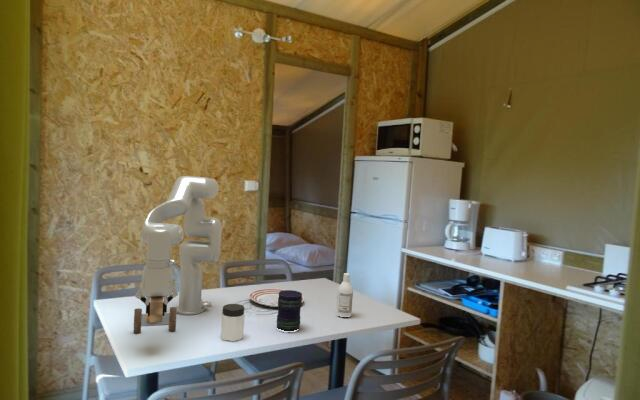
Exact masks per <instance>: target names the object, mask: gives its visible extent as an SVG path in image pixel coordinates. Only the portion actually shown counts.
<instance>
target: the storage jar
mask: <svg viewBox="0 0 640 400" xmlns="http://www.w3.org/2000/svg"><path fill="white" fill-rule="evenodd" d="M283 290H284V291H280V292H279V297H278V308H277V311H278V312H277V316H276V327H277V328H278V329H281V330H284V331H294V330H297V329H299V328H300V327H301V308H302V303H303V302H302V296H303V293H302V292H300V291H298V290H292V289H290V290H289V289H283Z"/></svg>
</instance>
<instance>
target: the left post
mask: <svg viewBox="0 0 640 400" xmlns="http://www.w3.org/2000/svg"><path fill="white" fill-rule="evenodd" d="M142 312H143V309H142V308H139V307H138V308H134V312H133V314H134V315H133V316H134V317H133V334H134V335H139V334H141V333H142V326H141V318H142V314H143V313H142Z"/></svg>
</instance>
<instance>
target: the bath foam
mask: <svg viewBox="0 0 640 400" xmlns="http://www.w3.org/2000/svg"><path fill="white" fill-rule="evenodd" d="M342 277H343V278H342V282H341V283H340V285H339V286H338V289H337V301H336V312H335V313H337V314H338V315H341V316H350V315H351V316H352V311H353V310H352V309H353V299H354V298H353V297H354V289H353V286H352V284H351V282H350V280H351V274H350V273H348V272H344V273H343V276H342Z"/></svg>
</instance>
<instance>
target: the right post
mask: <svg viewBox="0 0 640 400" xmlns="http://www.w3.org/2000/svg"><path fill="white" fill-rule="evenodd" d="M176 307H177V306H175V307H174V306H172V307H169V312H168V313H169V325H168V333H176V330H177V329H176V327H177V314H178V313H177V308H176Z"/></svg>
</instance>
